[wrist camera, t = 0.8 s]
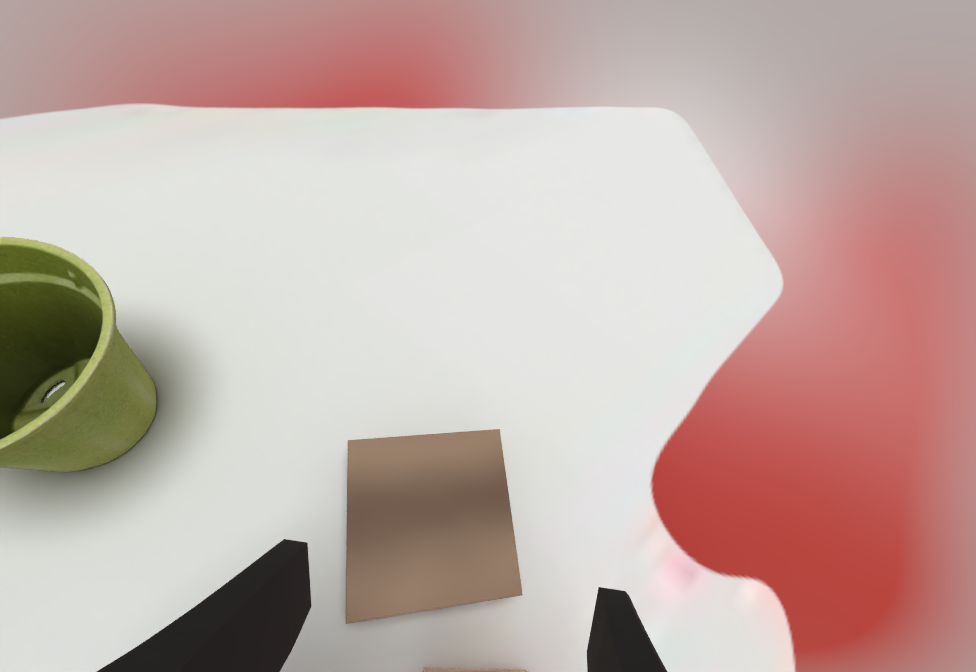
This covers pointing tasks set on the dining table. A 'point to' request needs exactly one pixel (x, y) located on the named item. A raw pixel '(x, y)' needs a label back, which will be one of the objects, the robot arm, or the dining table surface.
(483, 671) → the terracotta cube
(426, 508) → the walnut block
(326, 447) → the dining table surface
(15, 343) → the plant pot
